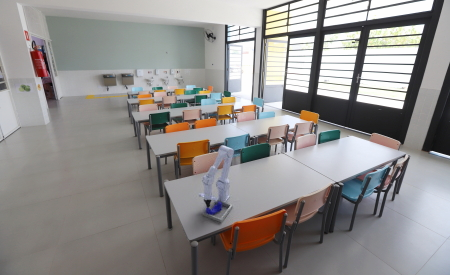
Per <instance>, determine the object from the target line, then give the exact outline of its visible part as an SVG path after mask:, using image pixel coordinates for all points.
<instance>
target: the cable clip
mask: <svg viewBox="0 0 450 275" xmlns="http://www.w3.org/2000/svg"><path fill="white" fill-rule="evenodd" d="M222 210H223V205H222V203H221V202H220V201H219V202H218V203H215V204H214V206H213V207H212V208H210V207H209V208H208V207H207V206H206V208H205V213H207V214H210V215H213V216H214V215H215V214H216V213H218V212H219V213H220V212H221V211H222Z"/></svg>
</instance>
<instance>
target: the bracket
mask: <svg viewBox="0 0 450 275" xmlns="http://www.w3.org/2000/svg"><path fill="white" fill-rule="evenodd" d="M219 201H220V200H217V202H215V201H214V204H217V203H218V202H219ZM220 202H221V203H222V206H224V207H226V208H227V207H228V208H227V209H226V211H225V213H224V214H223V215H222V216H221V217H218V216H215V215H214V214H213V215H210V214H207V213H206V211H205V212H203V213H202V216H203V217H205V218H208V219H209V220H213V221H216V222H217V223H223V221H224V220H225V218H226V217H227V215H228V214H229V213H230V212H231V210H232V209H233V204H231V203H228V202H227V201H226V202H223V201H220Z"/></svg>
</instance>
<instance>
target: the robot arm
mask: <svg viewBox="0 0 450 275" xmlns="http://www.w3.org/2000/svg"><path fill="white" fill-rule="evenodd" d="M217 152H218V153H217V156H216V159H215V161H214V163H213V165H212V166H210V167H209V170H208V171H207V172H206V175H204V176H203V177H202V180H201V181H202V182H201V183H203V192H200V193H199V194H198V197H202V198H203V201H204V203H205V205H206V208H207V207H208V208H209V209H210V206H211V203H212V201H214V203H215V202H217V200H220V201H223V202H226V203H227V201H228V199H230V190H229V189H230V183H231V182H230V179H229V174H230V169H231V165H232V161H233V158H234V153H235V150H234V149H233V148H231V147H228V146H226V145H224V144H222V145H220V146H219V147H218V151H217ZM222 162H223V164H222V170H221V174H220V177H218V178H217V180H216V182H215V177H216V174H217V173H218V171H219V170H218V168H219V166H220V164H221V163H222ZM214 182H215V187H216V189H217V197H215V195H213V184H214Z"/></svg>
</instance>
